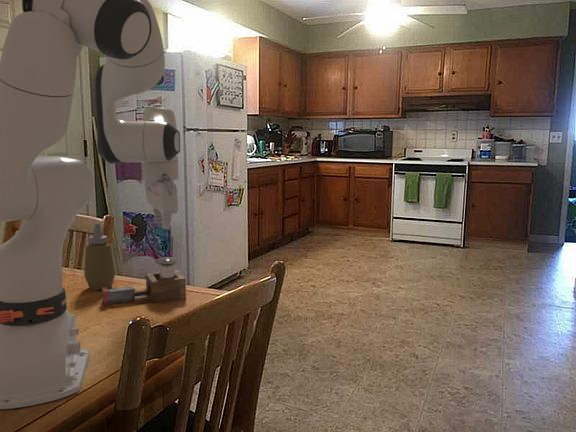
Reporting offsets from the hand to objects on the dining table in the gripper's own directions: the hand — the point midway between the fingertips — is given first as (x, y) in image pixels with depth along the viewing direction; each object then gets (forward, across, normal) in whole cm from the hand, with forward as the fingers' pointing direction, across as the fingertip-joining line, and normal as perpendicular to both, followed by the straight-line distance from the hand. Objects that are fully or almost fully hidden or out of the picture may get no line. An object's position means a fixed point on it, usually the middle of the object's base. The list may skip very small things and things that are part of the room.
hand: (162, 225), depth 133 cm
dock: (+19, 0, +2) cm, 19 cm away
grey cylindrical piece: (+19, -1, -1) cm, 19 cm away
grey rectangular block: (+19, 0, +11) cm, 22 cm away
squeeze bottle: (+19, +14, +14) cm, 28 cm away
